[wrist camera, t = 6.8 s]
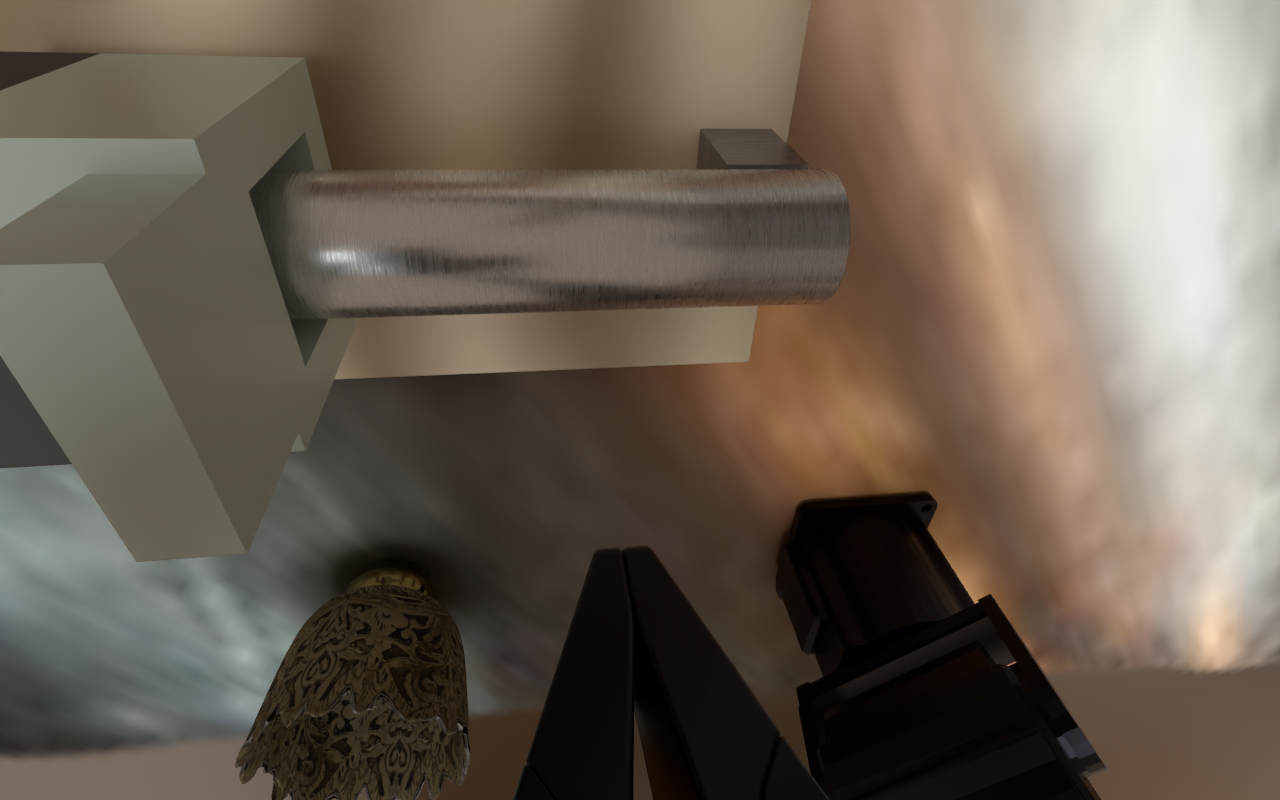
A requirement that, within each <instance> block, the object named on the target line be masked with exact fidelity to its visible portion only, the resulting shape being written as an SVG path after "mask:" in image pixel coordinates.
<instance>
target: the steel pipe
mask: <svg viewBox="0 0 1280 800" xmlns="http://www.w3.org/2000/svg"><path fill="white" fill-rule="evenodd" d="M808 166H809V164H808V163H807V162H806V161H805V160H804V159H803V158H801V157H800V156H799V155H798V154H797V153H796V152H795V151H794V150H793V149H792V148H791V147H790V146H789V145H788V144H787V143H786V142H785V141H784V140H783V139H781V138H780V137H779V136H778V135H777V134H776V133H775V132H774V131H773V130H772V129H700V136H699V146H698V157H697V168H696V170H268V171H267V173H266V174H265V175H264V176H263V177H262V178H261V179H260V180H259V181H258V182H257V183H256V184H255V185H254V186H253V187H252V189H251V190H250V191H249V195H250V198H251V201H252V204H253V207H254V210H255V213H256V216H257V219H258V223H259V226H260V229H261V232H262V235H263V238H264V241H265V244H266V247H267V250H268V253H269V256H270V259H271V263H272V266H273V269H274V272H275V275H276V278H277V281H278V284H279V287H280V290H281V293H282V296H283V299H284V303H285V306H286V309H287V312H288V315H289V318H290V320H308V319H341V318H374V317H407V316H440V315H472V314H505V313H538V312H571V311H603V310H636V309H669V308H702V307H735V306H767V305H800V304H822V303H825V302H827V301H828V300H829V299H830V298H831V297H832V296H833V295H834V294H835V292H836V290H837V289H838V287H839V284H840V282H841V280H842V277H843V274H844V271H845V267H846V263H847V258H848V252H849V243H850V213H849V205H848V200H847V195H846V192H845V189H844V186H843V184H842V182H841V180H840V178H839V177H838V175H837V174H836V173H835V172H833V171H832V170H829V169H808Z"/></svg>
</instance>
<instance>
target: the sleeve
mask: <svg viewBox="0 0 1280 800" xmlns="http://www.w3.org/2000/svg"><path fill="white" fill-rule="evenodd" d="M268 170H332V167H331V163H330V159H329V155H328V151H327V147H326V143H325V138H324V134H323V130H322V126H321V122H320V118H319V114H318V109H317V105H316V101H315V97H314V93H313V89H312V85H311V80H310V76H309V72H308V68H307V64H306V60H305V58H299V57H250V56H202V55H153V54H105V53H100V54H98V55H95V56H92V57H90V58H87V59H84V60H82V61H79V62H76V63H73V64H71V65H68V66H65V67H63V68H60V69H57V70H54V71H52V72H49V73H46V74H44V75H41V76H38V77H36V78H33V79H30V80H27V81H25V82H22V83H19V84H17V85H14V86H11V87H8V88H6V89H3V90H0V356H1V357H2V359H3V360H4V362H5V363H6V365H7V367H8V368H9V370H10V371H11V373H12V374H13V376H14V377H15V379H16V380H17V382H18V383H19V385H20V386H21V388H22V389H23V391H24V392H25V394H26V395H27V397H28V398H29V400H30V401H31V403H32V404H33V406H34V407H35V409H36V410H37V412H38V413H39V415H40V416H41V418H42V419H43V421H44V423H45V424H46V426H47V427H48V429H49V430H50V432H51V433H52V435H53V436H54V438H55V439H56V441H57V442H58V444H59V445H60V447H61V448H62V450H63V451H64V453H65V454H66V456H67V457H68V459H69V460H70V462H71V463H72V465H73V466H74V468H75V469H76V471H77V472H78V474H79V475H80V477H81V479H82V480H83V482H84V483H85V485H86V486H87V488H88V489H89V491H90V492H91V494H92V495H93V497H94V498H95V500H96V501H97V503H98V504H99V506H100V507H101V509H102V510H103V512H104V513H105V515H106V516H107V518H108V519H109V521H110V522H111V524H112V525H113V527H114V528H115V530H116V531H117V533H118V534H119V536H120V538H121V539H122V541H123V542H124V544H125V545H126V547H127V548H128V550H129V551H130V553H131V554H132V556H133V557H134V559H135V560H136V562H143V561H157V560H170V559H183V558H196V557H210V556H223V555H236V554H247V553H248V550H249V548H250V545H251V543H252V541H253V538H254V536H255V534H256V531H257V529H258V527H259V524H260V522H261V520H262V517H263V515H264V513H265V510H266V508H267V505H268V503H269V501H270V498H271V496H272V494H273V491H274V489H275V487H276V484H277V482H278V480H279V477H280V475H281V473H282V470H283V468H284V465H285V463H286V461H287V458H288V456H289V454H290V452H297V451H306V449H307V446H308V444H309V441H310V439H311V436H312V434H313V431H314V429H315V426H316V424H317V421H318V419H319V416H320V414H321V411H322V409H323V406H324V404H325V401H326V399H327V396H328V394H329V391H330V389H331V386H332V384H333V381H334V378H335V376H336V373H337V371H338V368H339V366H340V363H341V361H342V358H343V356H344V353H345V351H346V348H347V346H348V343H349V341H350V338H351V336H352V333H353V331H354V328H355V326H356V323H357V321H358V318H341V319H308V320H290V318H289V315H288V312H287V309H286V306H285V303H284V299H283V296H282V293H281V290H280V287H279V284H278V281H277V278H276V275H275V272H274V269H273V266H272V263H271V259H270V256H269V253H268V250H267V247H266V244H265V241H264V238H263V235H262V232H261V229H260V226H259V223H258V219H257V216H256V213H255V210H254V207H253V204H252V201H251V198H250V195H249V191H250V190H251V189H252V187H253V186H254V185H255V184H256V183H257V182H258V181H259V180H260V179H261V178H262V177H263V176H264V175H265V174H266V173H267V171H268Z"/></svg>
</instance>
